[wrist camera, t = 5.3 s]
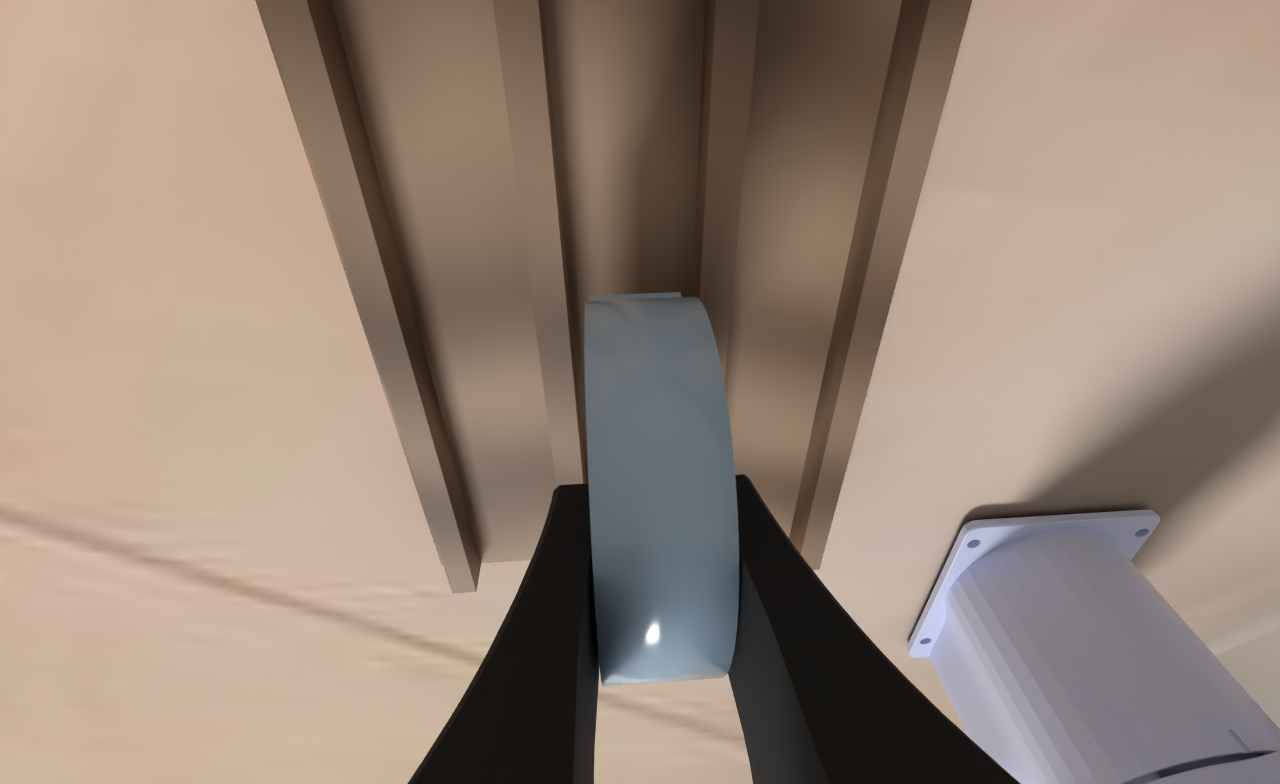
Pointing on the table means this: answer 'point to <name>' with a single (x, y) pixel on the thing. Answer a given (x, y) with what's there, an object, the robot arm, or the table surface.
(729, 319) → the rack
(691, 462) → the blue-grey thick rounded disc
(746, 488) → the robot arm
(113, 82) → the table surface
